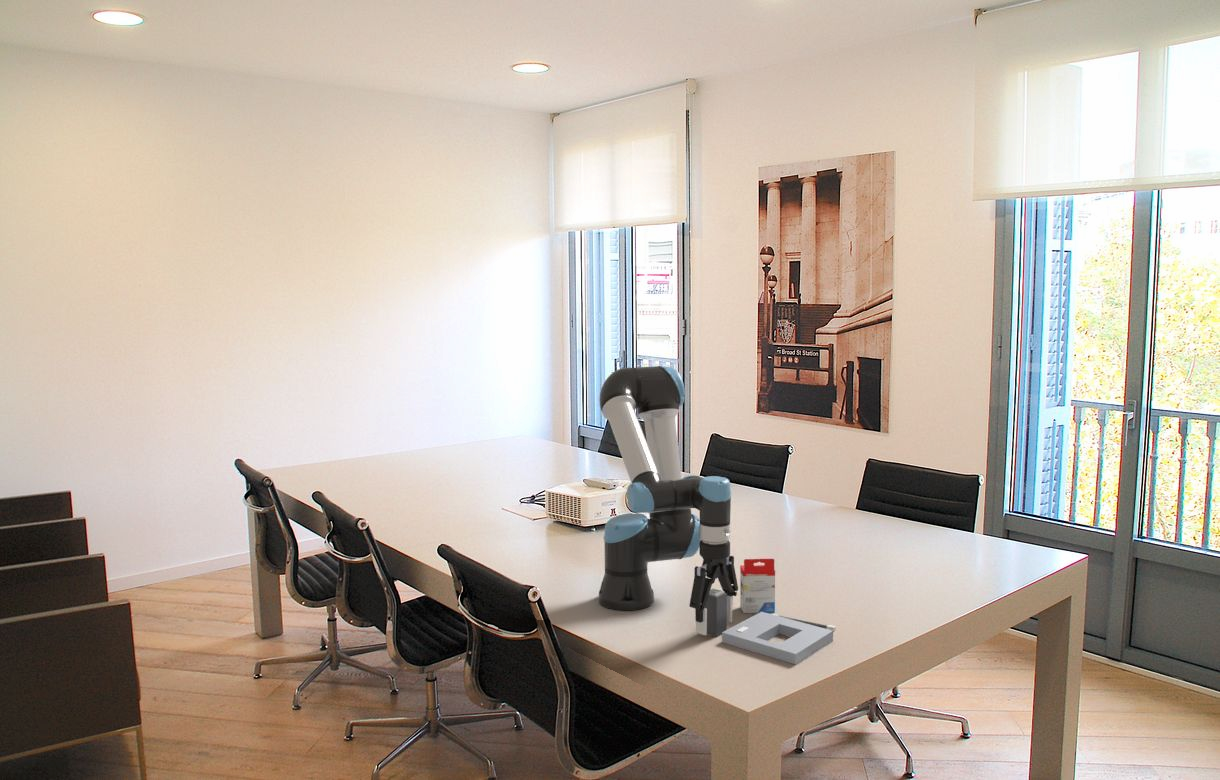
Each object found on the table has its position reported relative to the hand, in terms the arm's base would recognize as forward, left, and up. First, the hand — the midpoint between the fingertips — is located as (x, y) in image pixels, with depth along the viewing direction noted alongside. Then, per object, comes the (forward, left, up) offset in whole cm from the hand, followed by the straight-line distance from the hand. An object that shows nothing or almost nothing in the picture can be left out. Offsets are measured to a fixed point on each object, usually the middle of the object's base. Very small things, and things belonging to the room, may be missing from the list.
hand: (714, 627), depth 224 cm
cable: (+14, +19, -1) cm, 24 cm away
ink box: (0, +20, -2) cm, 20 cm away
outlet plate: (+15, +5, -1) cm, 16 cm away
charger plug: (0, 0, -1) cm, 1 cm away
